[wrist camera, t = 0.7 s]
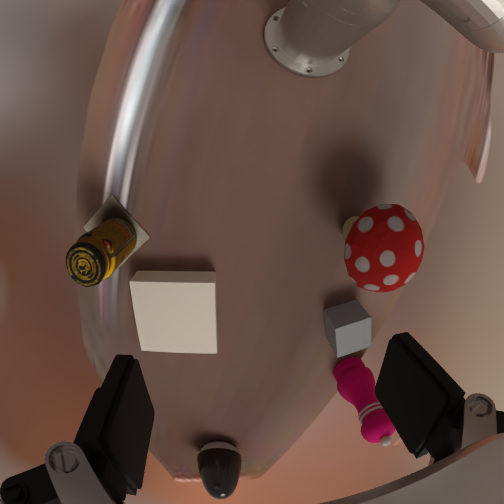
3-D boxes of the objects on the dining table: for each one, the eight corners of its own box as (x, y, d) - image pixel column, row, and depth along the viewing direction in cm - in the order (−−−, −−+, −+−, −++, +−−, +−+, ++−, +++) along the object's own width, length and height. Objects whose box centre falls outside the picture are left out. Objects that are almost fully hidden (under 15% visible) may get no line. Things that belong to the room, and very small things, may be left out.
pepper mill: (369, 366, 51) (412, 437, 32) (340, 386, 52) (374, 461, 33) (356, 348, 49) (403, 425, 30) (324, 369, 50) (360, 451, 31)
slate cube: (323, 309, 46) (335, 328, 40) (356, 299, 46) (371, 317, 40) (326, 337, 48) (337, 357, 42) (357, 327, 48) (371, 346, 42)
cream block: (137, 270, 40) (129, 281, 37) (215, 271, 42) (214, 282, 38) (146, 336, 44) (141, 350, 40) (217, 338, 45) (216, 353, 42)
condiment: (119, 267, 40) (87, 304, 29) (83, 227, 38) (41, 252, 26) (150, 236, 39) (123, 267, 28) (112, 194, 37) (72, 209, 25)
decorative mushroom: (308, 255, 42) (345, 304, 28) (326, 182, 39) (378, 198, 25) (369, 266, 44) (421, 311, 30) (389, 201, 40) (452, 223, 26)
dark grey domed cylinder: (236, 433, 55) (240, 488, 40) (243, 453, 58) (248, 503, 44) (192, 436, 54) (189, 490, 40) (203, 456, 58) (203, 505, 43)
